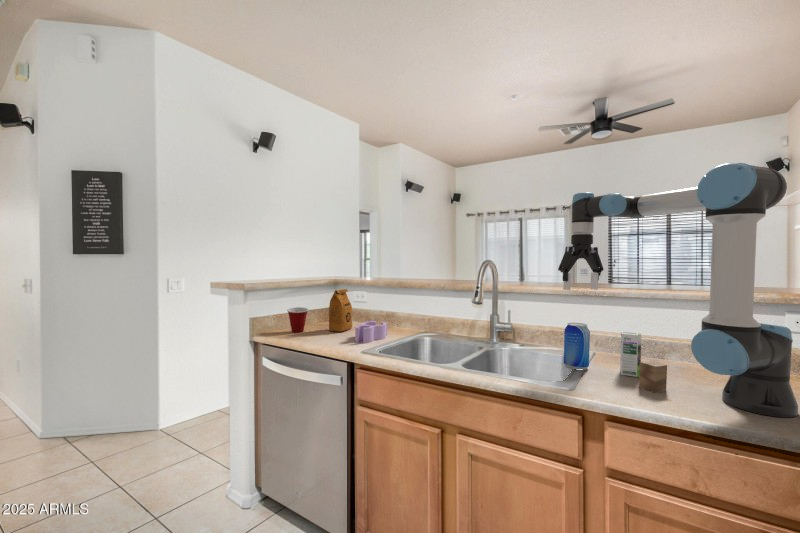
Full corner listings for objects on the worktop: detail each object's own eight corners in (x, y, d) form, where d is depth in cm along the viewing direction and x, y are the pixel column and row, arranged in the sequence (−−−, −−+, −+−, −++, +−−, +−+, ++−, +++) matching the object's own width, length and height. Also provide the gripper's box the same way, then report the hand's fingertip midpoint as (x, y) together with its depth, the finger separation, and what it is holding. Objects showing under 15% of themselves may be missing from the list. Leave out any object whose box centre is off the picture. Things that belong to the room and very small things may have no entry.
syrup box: (620, 375, 129) (622, 333, 129) (619, 370, 134) (621, 330, 134) (640, 377, 127) (641, 335, 126) (638, 373, 132) (640, 332, 131)
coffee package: (355, 329, 203) (355, 288, 202) (341, 333, 192) (341, 290, 191) (340, 327, 207) (340, 287, 207) (326, 331, 196) (326, 289, 196)
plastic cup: (286, 334, 188) (286, 310, 188) (287, 330, 199) (287, 307, 198) (308, 333, 191) (308, 310, 190) (308, 329, 201) (308, 307, 201)
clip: (372, 344, 170) (372, 329, 170) (348, 341, 175) (348, 326, 175) (391, 336, 188) (391, 322, 188) (370, 333, 193) (370, 320, 193)
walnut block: (666, 391, 114) (667, 365, 114) (654, 393, 113) (655, 366, 112) (650, 385, 119) (651, 360, 119) (639, 387, 117) (639, 362, 117)
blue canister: (558, 365, 139) (559, 323, 139) (573, 363, 143) (574, 321, 143) (578, 372, 132) (579, 327, 131) (594, 369, 136) (595, 325, 135)
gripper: (598, 235, 151) (596, 288, 152) (549, 233, 142) (547, 289, 143) (614, 234, 144) (613, 289, 145) (564, 232, 135) (562, 291, 136)
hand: (580, 289), depth 144 cm, fingers open, 13 cm apart
